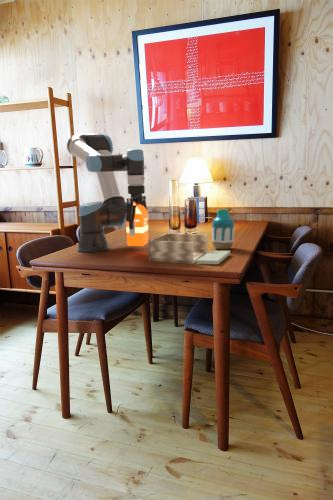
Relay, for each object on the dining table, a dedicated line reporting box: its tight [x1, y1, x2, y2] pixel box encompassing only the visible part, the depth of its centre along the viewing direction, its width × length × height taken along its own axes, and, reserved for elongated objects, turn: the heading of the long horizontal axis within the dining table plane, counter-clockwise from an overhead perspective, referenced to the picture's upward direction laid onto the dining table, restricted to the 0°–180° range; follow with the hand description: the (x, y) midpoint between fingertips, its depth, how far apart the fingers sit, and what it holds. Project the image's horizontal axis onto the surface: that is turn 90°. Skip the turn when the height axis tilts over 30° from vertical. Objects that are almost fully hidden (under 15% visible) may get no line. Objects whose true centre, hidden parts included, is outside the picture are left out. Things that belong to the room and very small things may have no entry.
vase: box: [211, 208, 235, 251], centre depth 183 cm, size 11×11×19 cm
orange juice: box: [125, 202, 149, 247], centre depth 176 cm, size 8×9×20 cm
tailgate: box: [196, 250, 231, 265], centre depth 164 cm, size 2×19×9 cm
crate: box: [147, 232, 208, 265], centre depth 170 cm, size 20×20×9 cm
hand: (137, 233), depth 178 cm, fingers closed on orange juice, 9 cm apart
